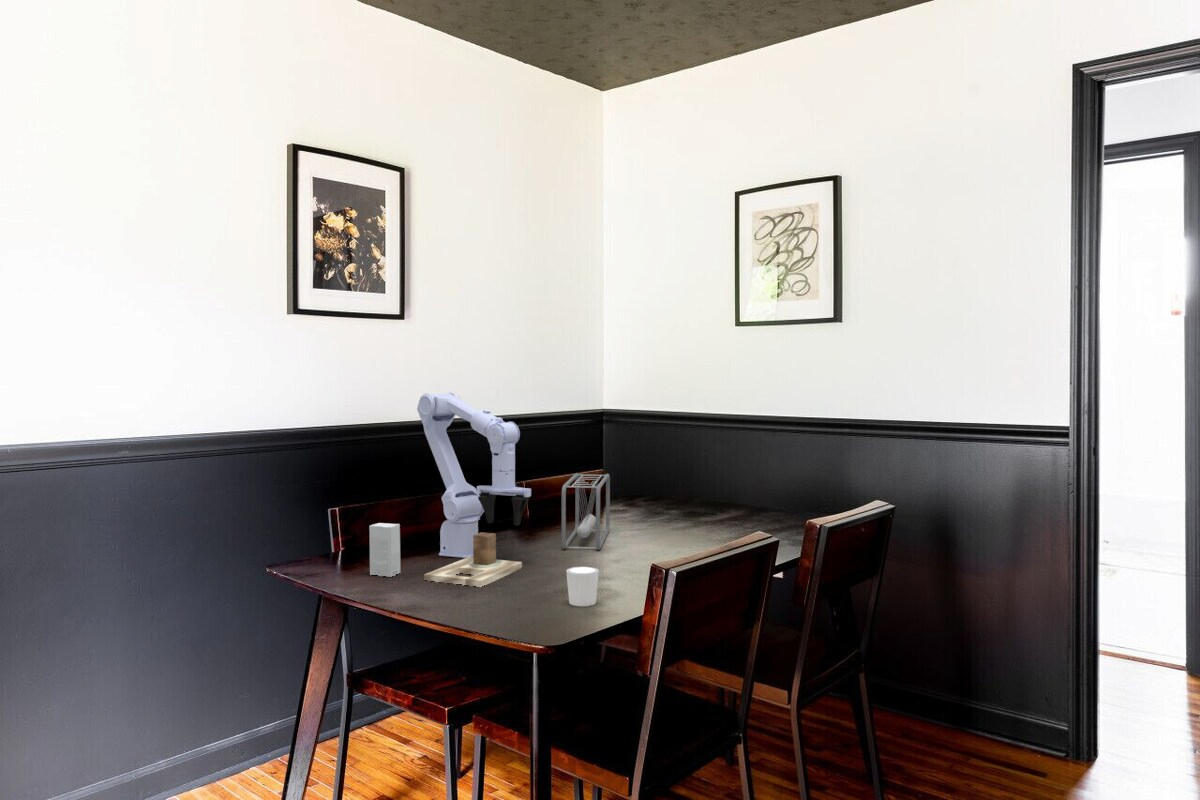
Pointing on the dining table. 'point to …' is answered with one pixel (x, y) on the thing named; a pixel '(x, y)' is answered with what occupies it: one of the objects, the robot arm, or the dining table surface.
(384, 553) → the skincare box
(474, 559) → the block
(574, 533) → the newton's cradle
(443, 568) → the board
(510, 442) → the robot arm
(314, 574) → the dining table surface
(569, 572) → the shot glass
